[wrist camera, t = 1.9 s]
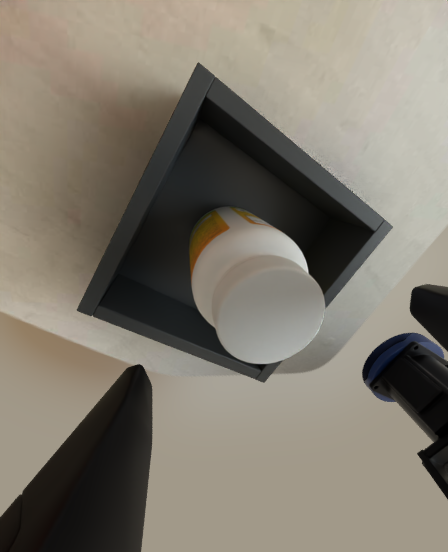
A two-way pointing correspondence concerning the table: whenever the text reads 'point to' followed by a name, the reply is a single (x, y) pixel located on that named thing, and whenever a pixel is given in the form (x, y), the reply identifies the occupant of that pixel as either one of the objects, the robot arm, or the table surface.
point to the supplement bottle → (253, 286)
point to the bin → (214, 194)
